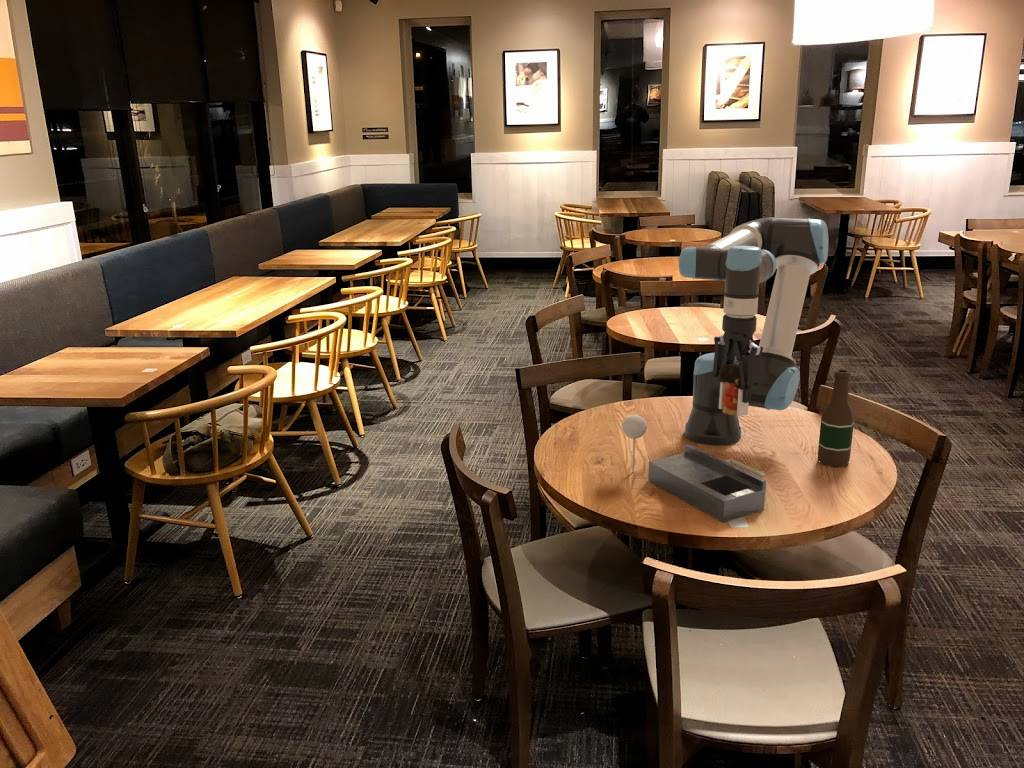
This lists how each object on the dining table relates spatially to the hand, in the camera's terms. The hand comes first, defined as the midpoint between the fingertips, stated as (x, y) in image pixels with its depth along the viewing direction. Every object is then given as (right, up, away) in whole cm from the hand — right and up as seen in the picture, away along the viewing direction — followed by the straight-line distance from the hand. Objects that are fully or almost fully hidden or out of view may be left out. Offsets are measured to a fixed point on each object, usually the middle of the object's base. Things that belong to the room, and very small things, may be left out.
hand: (733, 411), depth 193 cm
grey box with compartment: (-8, -19, -3) cm, 21 cm away
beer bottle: (+29, -14, +14) cm, 35 cm away
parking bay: (+2, -16, +8) cm, 18 cm away
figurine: (0, -1, 0) cm, 1 cm away
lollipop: (-22, -16, +10) cm, 29 cm away
